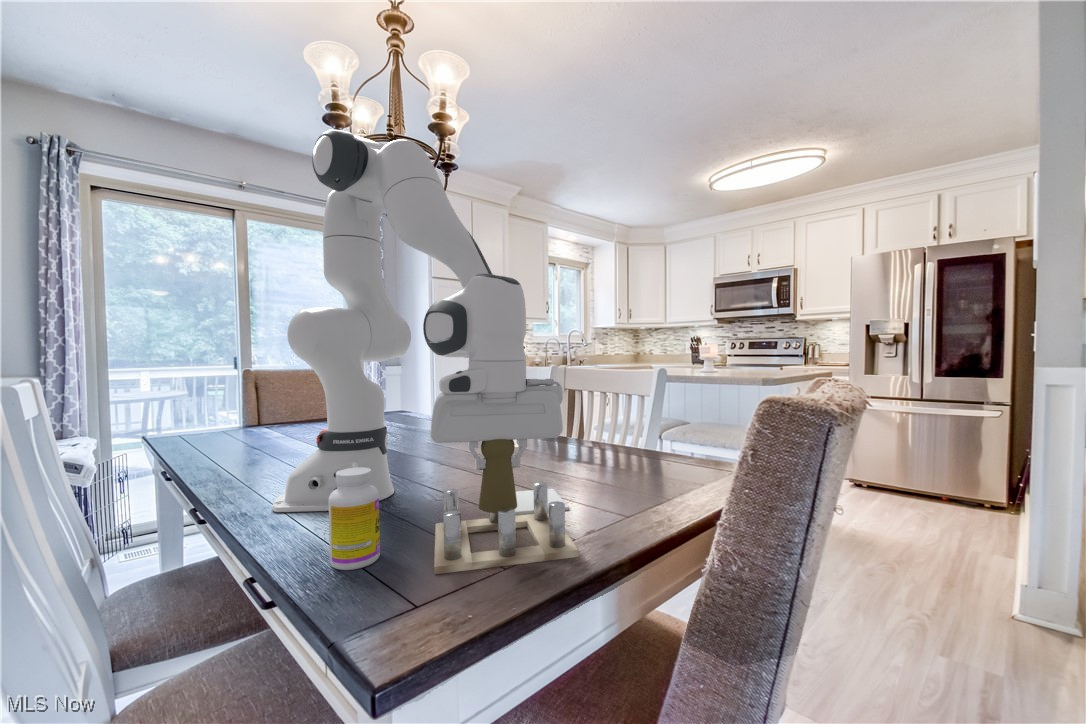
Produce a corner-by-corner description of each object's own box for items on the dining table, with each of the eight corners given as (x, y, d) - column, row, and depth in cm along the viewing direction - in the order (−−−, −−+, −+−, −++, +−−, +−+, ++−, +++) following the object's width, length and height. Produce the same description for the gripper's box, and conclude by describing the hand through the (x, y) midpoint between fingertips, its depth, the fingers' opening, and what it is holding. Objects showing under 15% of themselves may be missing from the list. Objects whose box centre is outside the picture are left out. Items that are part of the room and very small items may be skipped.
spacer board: (434, 574, 60) (434, 566, 60) (435, 529, 75) (435, 523, 75) (578, 556, 64) (578, 549, 64) (551, 517, 80) (551, 512, 80)
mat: (504, 516, 81) (504, 512, 81) (496, 496, 93) (496, 493, 93) (568, 510, 84) (568, 506, 84) (553, 491, 95) (552, 488, 95)
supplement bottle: (384, 564, 63) (382, 472, 63) (332, 576, 60) (330, 480, 59) (375, 547, 69) (374, 463, 69) (327, 557, 65) (325, 469, 65)
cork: (520, 500, 73) (520, 432, 72) (514, 513, 67) (513, 439, 66) (483, 499, 73) (483, 431, 73) (474, 512, 67) (473, 439, 67)
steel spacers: (444, 564, 60) (443, 520, 60) (443, 523, 75) (442, 487, 75) (569, 550, 64) (568, 508, 64) (544, 513, 79) (544, 479, 79)
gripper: (557, 377, 75) (557, 459, 75) (430, 379, 70) (431, 466, 71) (568, 379, 69) (567, 469, 69) (429, 381, 64) (430, 478, 65)
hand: (497, 468), depth 70 cm, fingers closed on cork, 4 cm apart
